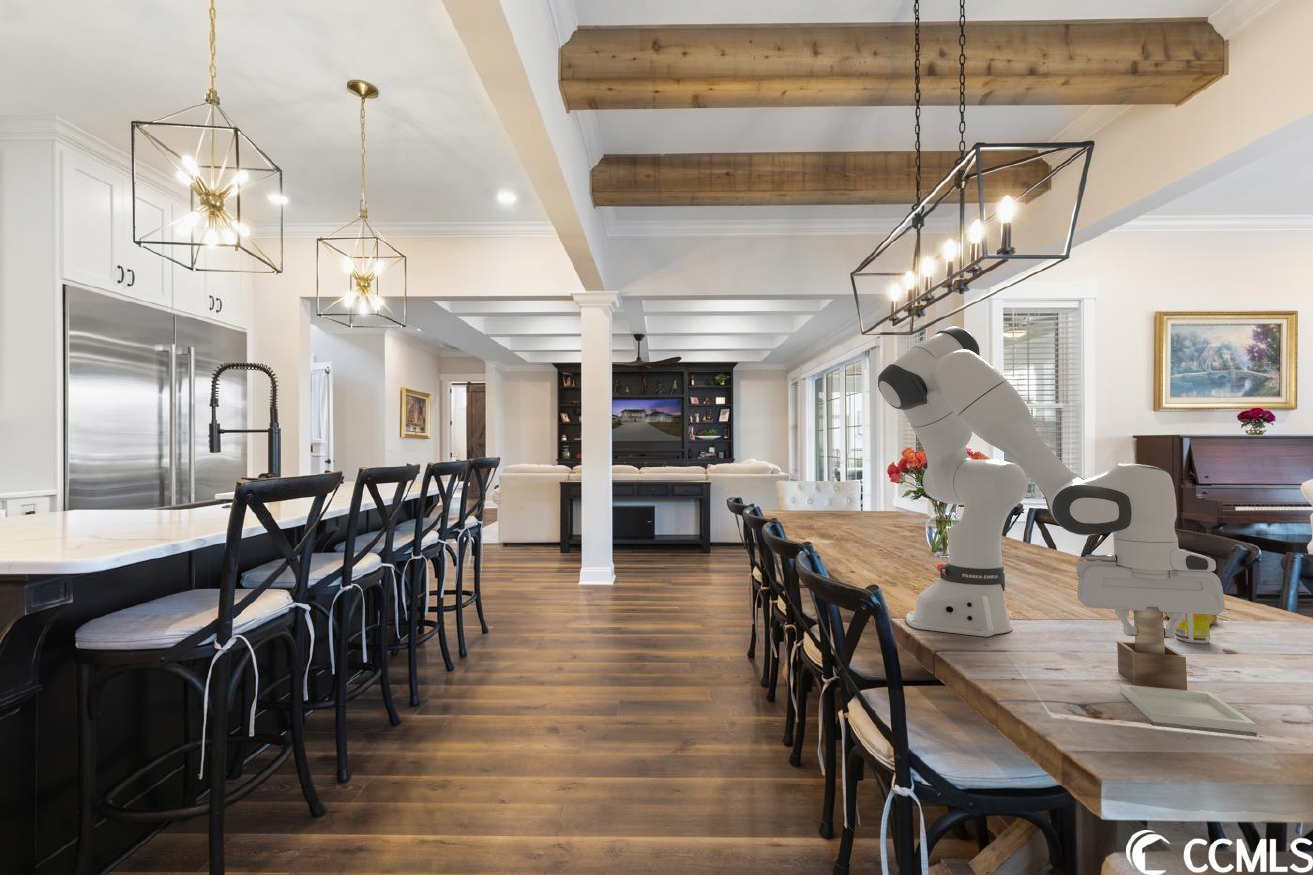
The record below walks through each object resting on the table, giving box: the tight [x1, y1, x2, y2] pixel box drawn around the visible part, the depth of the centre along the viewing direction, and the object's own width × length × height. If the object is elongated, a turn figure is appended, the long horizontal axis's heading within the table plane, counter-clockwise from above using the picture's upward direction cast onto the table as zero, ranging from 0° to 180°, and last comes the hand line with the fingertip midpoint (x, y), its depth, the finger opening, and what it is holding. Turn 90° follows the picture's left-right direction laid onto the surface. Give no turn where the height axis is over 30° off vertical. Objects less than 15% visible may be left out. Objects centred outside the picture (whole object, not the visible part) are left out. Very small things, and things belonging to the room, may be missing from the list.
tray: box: [1119, 683, 1258, 737], centre depth 93 cm, size 12×12×2 cm
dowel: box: [1132, 607, 1166, 655], centre depth 106 cm, size 4×4×13 cm
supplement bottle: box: [1175, 613, 1211, 644], centre depth 130 cm, size 6×6×10 cm
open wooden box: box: [1116, 640, 1188, 690], centre depth 105 cm, size 7×7×6 cm
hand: (1149, 636), depth 106 cm, fingers closed on dowel, 4 cm apart
